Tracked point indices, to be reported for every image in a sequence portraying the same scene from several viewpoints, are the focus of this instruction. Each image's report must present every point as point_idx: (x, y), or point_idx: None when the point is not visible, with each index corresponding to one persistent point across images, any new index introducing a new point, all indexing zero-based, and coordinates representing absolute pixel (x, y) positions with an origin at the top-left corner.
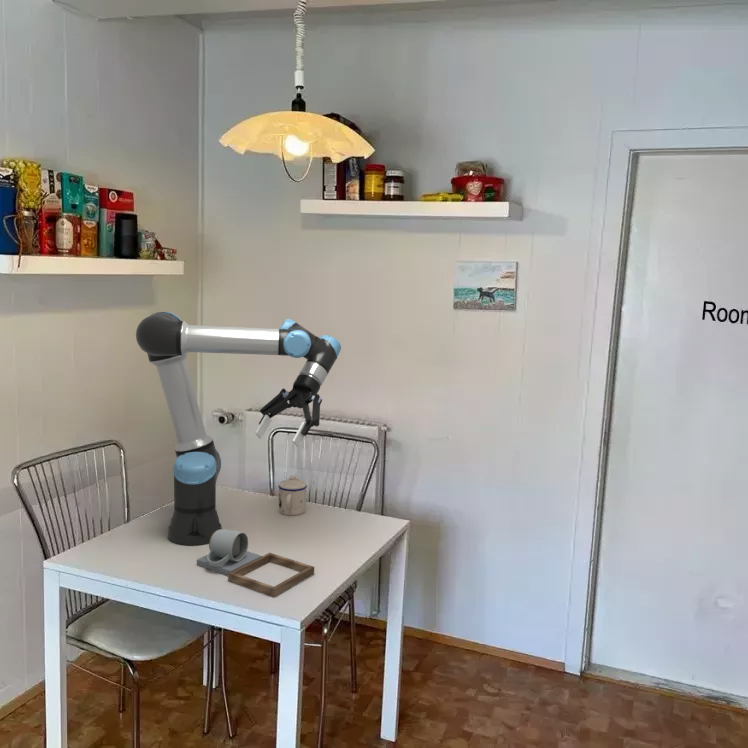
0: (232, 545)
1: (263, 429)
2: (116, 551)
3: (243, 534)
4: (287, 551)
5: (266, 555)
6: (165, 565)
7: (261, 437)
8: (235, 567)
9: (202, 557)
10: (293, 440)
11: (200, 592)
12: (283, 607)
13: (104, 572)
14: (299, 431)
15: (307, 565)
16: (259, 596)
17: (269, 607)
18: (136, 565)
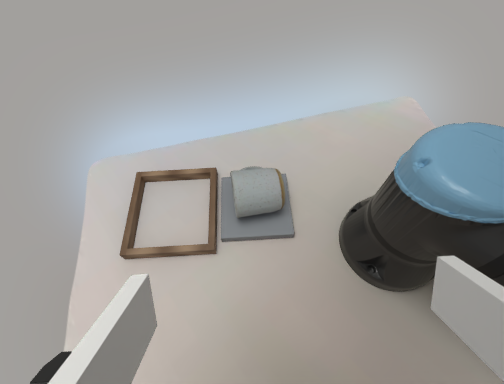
0: (230, 173)
1: (480, 330)
2: (394, 144)
3: (239, 200)
4: (213, 300)
5: (211, 238)
6: (312, 155)
7: (435, 311)
8: (224, 188)
9: (285, 181)
10: (138, 275)
11: (222, 140)
12: (118, 168)
13: (343, 111)
14: (90, 331)
15: (131, 251)
16: (158, 169)
17: (133, 160)
18: (337, 137)
